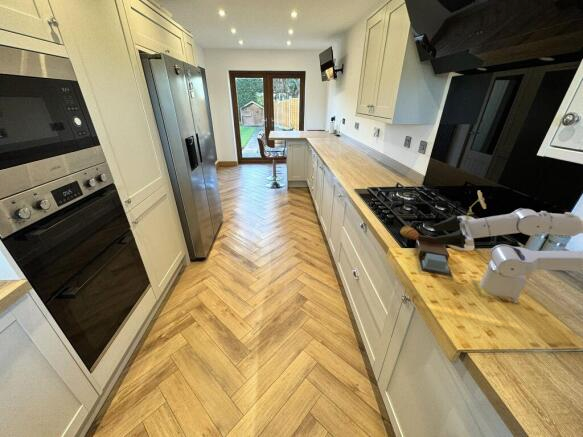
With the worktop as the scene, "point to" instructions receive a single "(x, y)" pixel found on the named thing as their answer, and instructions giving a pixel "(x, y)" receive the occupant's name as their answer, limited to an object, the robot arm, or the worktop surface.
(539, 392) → the worktop surface
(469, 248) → the flower in vase
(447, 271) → the blue-grey block
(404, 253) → the worktop surface
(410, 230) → the pastry
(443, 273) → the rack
